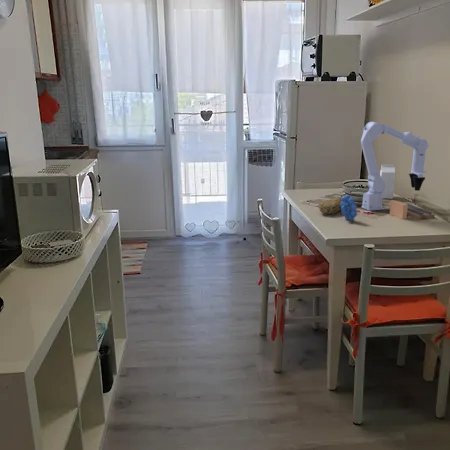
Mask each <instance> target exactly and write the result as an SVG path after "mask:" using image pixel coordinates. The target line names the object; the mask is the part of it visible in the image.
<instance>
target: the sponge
mask: <svg viewBox="0 0 450 450" xmlns="http://www.w3.org/2000/svg"><path fill="white" fill-rule="evenodd" d="M341 199H342V197H336V198H335V197H334V198H332V199H328V200H324V201H320V202H319V204H318V209H319V211H320V213H322V214H325V215H333V214H336V213H337V212H341V211H342V210H341V206H340V203H341V202H342V200H341Z"/></svg>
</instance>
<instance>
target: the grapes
mask: <svg viewBox="0 0 450 450" xmlns="http://www.w3.org/2000/svg"><path fill="white" fill-rule="evenodd" d="M341 198H342V199H341V200H342V202H341V203H340V206H341V211H340V212H341V214H342V215H344V219H346V220H347V221H351V222H353V221H354V220H355V218H356V217H357V216H358V212H357V211H356V210H357V209H358V206H357V204H356V203H355V199H354V198H353V197H351V195H350V194H346V195H345V196H342V197H341Z"/></svg>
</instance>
